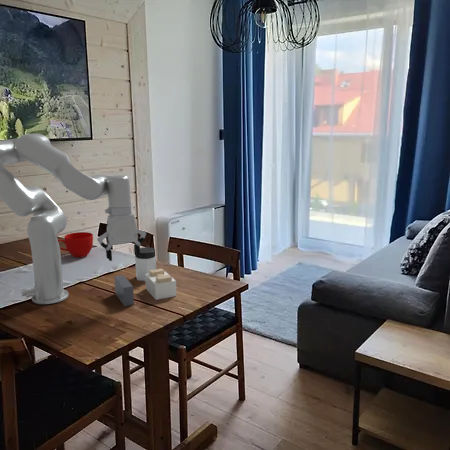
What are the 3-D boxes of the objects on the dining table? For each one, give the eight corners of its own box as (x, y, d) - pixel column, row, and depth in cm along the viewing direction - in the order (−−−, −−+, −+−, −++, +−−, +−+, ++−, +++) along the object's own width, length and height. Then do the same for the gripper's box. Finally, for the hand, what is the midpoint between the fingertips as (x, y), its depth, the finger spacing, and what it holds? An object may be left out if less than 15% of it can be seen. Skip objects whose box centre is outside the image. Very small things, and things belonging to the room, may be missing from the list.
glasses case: (124, 306, 157) (123, 287, 156) (115, 293, 168) (114, 276, 167) (133, 304, 159) (133, 286, 157) (124, 292, 170) (123, 275, 168)
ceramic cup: (56, 254, 216) (54, 234, 214) (91, 250, 223) (90, 231, 221) (58, 262, 205) (56, 241, 202) (96, 257, 212) (94, 237, 209)
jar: (135, 275, 188) (133, 247, 186) (154, 273, 191) (153, 246, 188) (137, 282, 180) (136, 253, 177) (157, 280, 182) (156, 252, 180)
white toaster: (155, 299, 163) (155, 280, 161) (145, 288, 173) (145, 270, 171) (176, 296, 166) (175, 276, 165) (165, 285, 177) (164, 267, 175)
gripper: (97, 215, 149) (101, 264, 153) (147, 210, 156) (150, 257, 160) (92, 211, 155) (96, 258, 159) (141, 206, 163) (143, 251, 167)
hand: (123, 257), depth 160 cm, fingers open, 9 cm apart
